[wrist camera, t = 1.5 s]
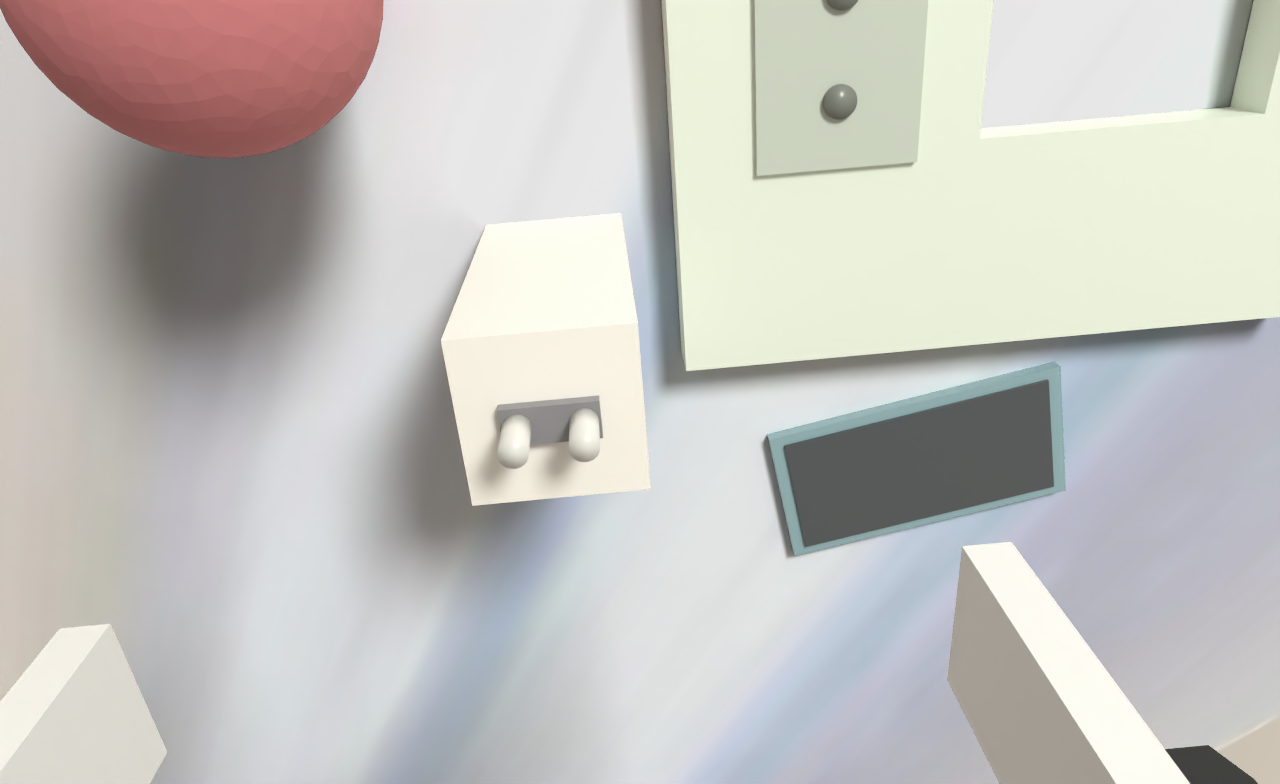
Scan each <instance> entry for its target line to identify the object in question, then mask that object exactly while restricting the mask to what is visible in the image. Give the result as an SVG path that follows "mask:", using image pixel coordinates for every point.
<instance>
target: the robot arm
mask: <svg viewBox="0 0 1280 784" xmlns="http://www.w3.org/2000/svg"><path fill="white" fill-rule="evenodd" d="M947 680H948V682H949V684H950V686H951V688H952V690H953V692H954V694H955V696H956V698H957V700H958V702H959V704H960V706H961V708H962V710H963V712H964V714H965V716H966V718H967V720H968V722H969V724H970V726H971V728H972V730H973V732H974V734H975V736H976V738H977V740H978V742H979V744H980V746H981V748H982V750H983V752H984V754H985V756H986V758H987V760H988V762H989V763H990V765H991V767H992V769H993V771H994V773H995V775H996V777H997V779H998V781H999V783H1000V784H1258V783H1257V782H1256V781H1255V780H1254V779H1253V778H1252V777H1251V776H1249V775H1248V774H1246V773H1245V772H1244V771H1242V770H1241V769H1240V768H1238V767H1237V766H1236V765H1234V764H1233V763H1232V762H1230V761H1229V760H1227V759H1226V758H1225V757H1223V756H1222V755H1221V754H1219V753H1218V752H1217V751H1215V750H1214V749H1213V748H1211V747H1210V746H1209V745H1206V746H1195V747H1185V748H1174V749H1164V748H1163V746H1162V745H1161V744H1160V742H1159V741H1158V740H1157V738H1156V737H1155V735H1154V734H1153V733H1152V731H1151V730H1150V729H1149V727H1148V726H1147V725H1146V723H1145V722H1144V721H1143V719H1142V718H1141V717H1140V715H1139V714H1138V713H1137V711H1136V710H1135V708H1134V707H1133V706H1132V704H1131V703H1130V702H1129V700H1128V699H1127V698H1126V696H1125V695H1124V694H1123V692H1122V691H1121V690H1120V688H1119V687H1118V685H1117V684H1116V683H1115V681H1114V680H1113V679H1112V677H1111V676H1110V675H1109V673H1108V672H1107V671H1106V669H1105V668H1104V667H1103V665H1102V664H1101V662H1100V661H1099V660H1098V658H1097V657H1096V656H1095V654H1094V653H1093V652H1092V650H1091V649H1090V648H1089V646H1088V645H1087V644H1086V642H1085V641H1084V640H1083V638H1082V637H1081V635H1080V634H1079V633H1078V631H1077V630H1076V629H1075V627H1074V626H1073V625H1072V623H1071V622H1070V621H1069V619H1068V618H1067V617H1066V615H1065V614H1064V612H1063V611H1062V610H1061V608H1060V607H1059V606H1058V604H1057V603H1056V602H1055V600H1054V599H1053V598H1052V596H1051V595H1050V594H1049V592H1048V591H1047V590H1046V588H1045V587H1044V585H1043V584H1042V583H1041V581H1040V580H1039V579H1038V577H1037V576H1036V575H1035V573H1034V572H1033V571H1032V569H1031V568H1030V567H1029V565H1028V564H1027V562H1026V561H1025V560H1024V558H1023V557H1022V556H1021V554H1020V553H1019V552H1018V550H1017V549H1016V548H1015V546H1014V545H1013V544H1012V542H1004V543H993V544H982V545H971V546H962V553H961V562H960V570H959V579H958V588H957V597H956V606H955V615H954V624H953V633H952V642H951V651H950V660H949V669H948V678H947ZM166 754H167V750H166V748H165V746H164V744H163V741H162V739H161V737H160V735H159V732H158V730H157V728H156V726H155V723H154V721H153V719H152V717H151V714H150V712H149V710H148V708H147V705H146V703H145V701H144V699H143V696H142V694H141V692H140V690H139V687H138V685H137V683H136V681H135V678H134V676H133V674H132V672H131V669H130V667H129V665H128V663H127V660H126V658H125V656H124V654H123V651H122V649H121V647H120V645H119V642H118V640H117V638H116V636H115V633H114V631H113V629H112V627H111V624H104V625H93V626H82V627H71V628H60V629H59V630H58V631H57V633H56V634H55V635H54V636H53V638H52V639H51V640H50V641H49V643H48V644H47V645H46V646H45V647H44V649H43V650H42V651H41V652H40V654H39V655H38V656H37V657H36V658H35V660H34V661H33V662H32V663H31V665H30V666H29V667H28V668H27V669H26V671H25V672H24V673H23V674H22V676H21V677H20V678H19V679H18V681H17V682H16V683H15V684H14V685H13V687H12V688H11V689H10V690H9V692H8V693H7V694H6V695H5V696H4V698H3V699H2V700H1V701H0V784H150V783H151V781H152V779H153V777H154V776H155V774H156V772H157V770H158V768H159V767H160V765H161V763H162V761H163V759H164V757H165V756H166Z"/></svg>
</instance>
